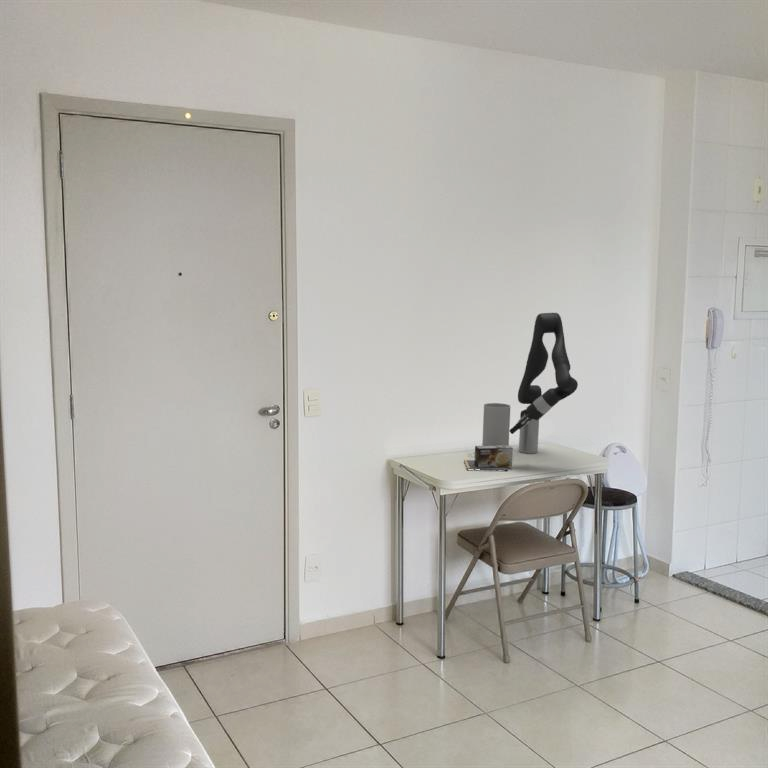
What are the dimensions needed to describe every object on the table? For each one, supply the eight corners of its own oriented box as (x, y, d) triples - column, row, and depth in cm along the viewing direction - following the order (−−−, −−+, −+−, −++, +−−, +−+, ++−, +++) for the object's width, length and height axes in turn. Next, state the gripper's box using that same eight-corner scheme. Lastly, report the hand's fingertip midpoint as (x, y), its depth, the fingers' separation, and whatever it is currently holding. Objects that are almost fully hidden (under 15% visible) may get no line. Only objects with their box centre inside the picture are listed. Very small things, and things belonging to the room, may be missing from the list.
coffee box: (508, 444, 361) (474, 444, 358) (513, 447, 355) (478, 447, 352) (507, 464, 362) (473, 464, 360) (512, 467, 356) (477, 467, 353)
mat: (464, 461, 368) (464, 459, 368) (502, 462, 368) (502, 460, 368) (467, 470, 352) (467, 468, 352) (507, 471, 352) (507, 468, 352)
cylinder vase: (476, 455, 381) (478, 404, 378) (495, 452, 389) (497, 402, 385) (494, 460, 371) (497, 408, 368) (513, 457, 379) (515, 406, 375)
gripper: (535, 399, 360) (507, 423, 366) (531, 403, 348) (502, 428, 353) (546, 411, 360) (518, 435, 365) (543, 416, 347) (514, 441, 352)
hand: (510, 432), depth 359 cm, fingers closed
